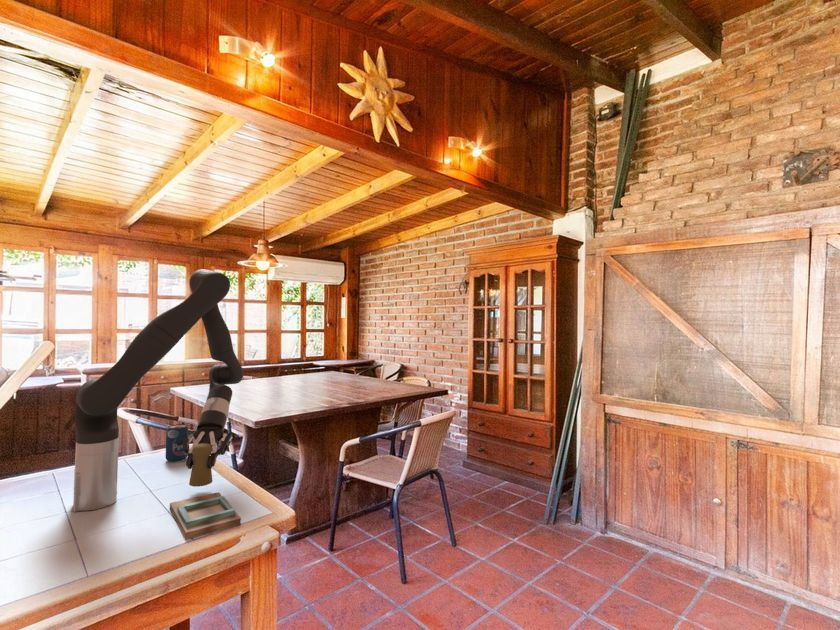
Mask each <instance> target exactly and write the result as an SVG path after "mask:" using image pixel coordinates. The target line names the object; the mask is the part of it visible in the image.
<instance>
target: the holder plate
mask: <svg viewBox="0 0 840 630" xmlns="http://www.w3.org/2000/svg"><path fill="white" fill-rule="evenodd" d="M169 510H170V512H171V514H172V516H173V518H174V520H175V522H176V523H177V526H178V527H179V529H180V532H181V533H182V535H183V537H184V538H185V540H189V539H192V538H196V537H200V536H202V535H206V534H210V533H214V532H217V531H222V530H225V529H228V527H229V528H233V527H235V526H239V524H240V525H241V523H242V522H241V520H242V518H241V517H240V515H239V514H238V513H237V512H236V509H235V508H234V507H233V506H232V504H231V503H230V502H229V501H228V500H227V499H226V497H225V496H224V495H222V494H221V493H220V492H219V491H217V492H214V493H209V494H204V495H203V494H202V495H200V496H196V497H191V498H187V499H182V500H177V501H172V502H170V503H169Z"/></svg>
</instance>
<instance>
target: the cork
mask: <svg viewBox="0 0 840 630" xmlns="http://www.w3.org/2000/svg"><path fill="white" fill-rule="evenodd" d="M211 453H212V446H211V445H210V444H208V443H201V444H197V445H195V446H194V447H193V449H192V454H193V456H194V460H193V465H192V469H191V470H190V471H191V472H190V478H189V483H188V485H189V486H190V487H204V486H208V485H210V484H212V483H213V472H212V469H209V468H208V462H209V458H210V455H211Z"/></svg>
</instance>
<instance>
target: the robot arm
mask: <svg viewBox="0 0 840 630" xmlns="http://www.w3.org/2000/svg"><path fill="white" fill-rule="evenodd" d="M188 285H189V288H190V292H191V294H190V295H189V296H188V297H187V298H186V299H184V300H183V301H182V302H180V303H179V304H177V305H175V306H174V307H172V308H169V309H168V310H166V311H164V312H162V313H161V314H159V315H158V316H156V317H155V318H153V319H152V320H151V321H149V323H148V324H146V326H145V327H143V329H141V331H139V333H138V334H137V335H136V336H135V338H134V339H133V340H132V341H131V343H130V344H129V345H128V347H127V348H126V350H125V351H124V352H123V354H122V356H121V357H120V359H118V361H117V362H116V363H115V364H114V365H113V366H111V368H109V370H107V371H106V372H105V373H103V374H102V375H101V376H100V377H99V378H94V379H93V378H92V379H90V380H87V381H85V382H84V383H83V384H82V385H81V386H79V388H78V390H77V392H76V394H75V395H76V396H75V411H74V413H75V416H74V419H75V421H74V429H75V453H74V455H75V456H74V457H75V458H74V476H73V477H74V479H73V502H72V503H73V505H72V506H73V507H72V508H73V512H80V511H81V512H86V511H93V510H99V509H103V508H106V507H108V506H111V505H112V504H114V503H116V502H117V499H118V466H119V442H120V441H119V439H120V438H119V435H120V433H119V432H120V428H119V423H118V422H119V421H118V420H119V419H118V408H119V406H120V405H121V404H122V403H123V402H124V400H125V398H127V396H128V394H129V393H130V392H131V391H132V390H133V389H134V387H135V386H136V385H137V384H138V383H139V381H140V380H141V379H142V378H143V377H144V376H145V375H146V374H147V373H148V372H149V371H150V370H152V368H154V367H155V366H156V365H157V364H158V363H159V362H160V361H161V360H162V359H164V357H165V356H166V355H167V354H168V353H169V352H170V351H172V349H173V348H174V347H175V346H176V345H177V344H178V343H179V342H180V341H181V339H182V338H183V337H184V336H185V335H186V334H187V333H188V332H190V330H191V329H192V328H193V327H194V326H196V324H197V323H198V322H199V321H200V320H201V321H202V324H203V328H204V329H205V330H204V331H205V334H206V340H207V343H208V344H207V345H208V349H209V354H210V357H211V359H212V360H214V361H218V362H223V363H219V364H218V363H217V364H215V365H213V366H211V368H210V369H209V371H208V380H209V389H208V394H207V397H206V400H205V403H204V405H203V408H202V410H201V414H200V416H199V420H198V423H197V426H196V429H195V430H194V431H193V433H189V435H188V434H187V433H185V434H183V452H184V454H185V455H188V456H187V458H186V459H185V460H186V461H185V466H186V468H187V469H188V470H192V466H193V460H194V456H193V454H192V449H193V447H194V446H195V445H197V444H201V443H208V444H210V445H211V446H212V453H211V454H210V458H209V462H208V468H209V469H211V470H212V468H213V467H215V465H216V462H217V458H218V456H220V455H221V456H224V455H225V454H226V452H227V450H228V448H229V446H230V445H231V443H232V441H233V438H234V437H233V435H232V433H231V432H228V433H226V432H225V433H224V430H225V427H226V423H227V420H228V417H229V410H230V404H231V400H232V398H233V390H232V388H231V387H230V386H229V385H238V384H239V383H241V381H242V380H243V378H244V370H243V366H242V365H241V363H240V361H239V359H238V358H237V354H235V351H234V346H233V342H232V336H231V333H230V330H229V327H228V326H227V323H226V321H225V320H224V317H223V316H222V313H221V310H220V308H219V303H220V302H221V301H223V299H224V298H225V297H226V296H227V295H228V294H229V291H230V288H231V281H230V279H229V277H228V276H227V275H225V274H224V273H222V272H219V271H215V270H211V269H203V268H202V269H197V270H196V271H194V272H193V273H191V275H190V278H189V284H188ZM193 439H194V440H195V441H194V442H193V443H192V440H193ZM222 439H223V441H222V443H221V445H220V447H219V448H218V443H219V442H221V440H222ZM190 443H192V446H191V448H190Z"/></svg>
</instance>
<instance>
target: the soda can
mask: <svg viewBox="0 0 840 630" xmlns="http://www.w3.org/2000/svg"><path fill="white" fill-rule="evenodd" d="M165 433H166V434H165V460H167V462H168V463H180V462H183V461H184V462H185V460H187V457H188V455H185V454H184V452H183V434H185V433H187V434H188V435H189V434H190V433H189V427H188V425H187V424H185V423H178V424H172V425H169V426H168V427H167V430H166V432H165Z"/></svg>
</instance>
